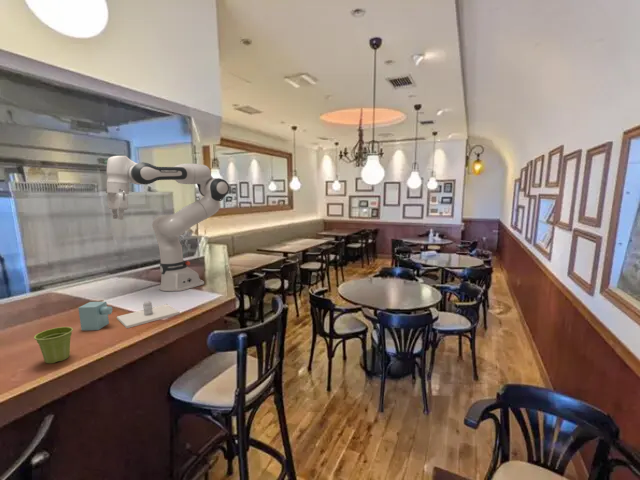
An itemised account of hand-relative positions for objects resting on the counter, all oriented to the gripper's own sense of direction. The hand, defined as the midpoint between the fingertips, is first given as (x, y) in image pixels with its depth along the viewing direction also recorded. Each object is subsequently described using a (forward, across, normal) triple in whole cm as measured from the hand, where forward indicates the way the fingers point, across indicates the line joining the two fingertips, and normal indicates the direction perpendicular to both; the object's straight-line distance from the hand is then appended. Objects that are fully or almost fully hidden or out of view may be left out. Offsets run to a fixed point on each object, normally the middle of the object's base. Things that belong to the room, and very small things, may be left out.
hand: (117, 219), depth 158 cm
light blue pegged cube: (+40, -32, +14) cm, 53 cm away
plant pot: (+42, -52, +29) cm, 73 cm away
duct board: (+39, -35, -3) cm, 52 cm away
